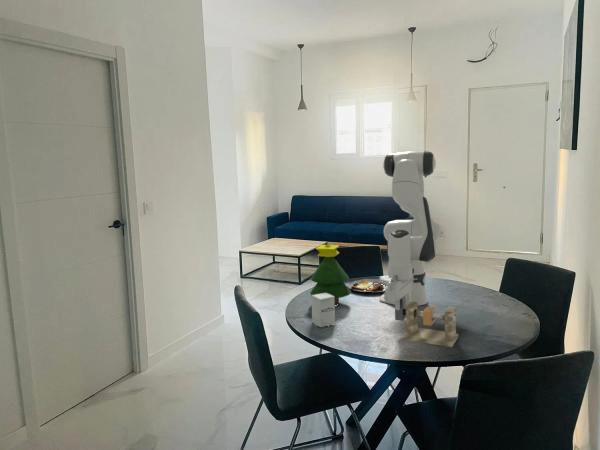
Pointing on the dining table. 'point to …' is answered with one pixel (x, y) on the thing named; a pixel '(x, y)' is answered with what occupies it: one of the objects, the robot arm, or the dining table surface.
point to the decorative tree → (330, 274)
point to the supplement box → (323, 309)
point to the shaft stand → (427, 334)
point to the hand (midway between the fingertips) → (400, 307)
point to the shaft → (415, 312)
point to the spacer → (428, 316)
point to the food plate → (368, 285)
